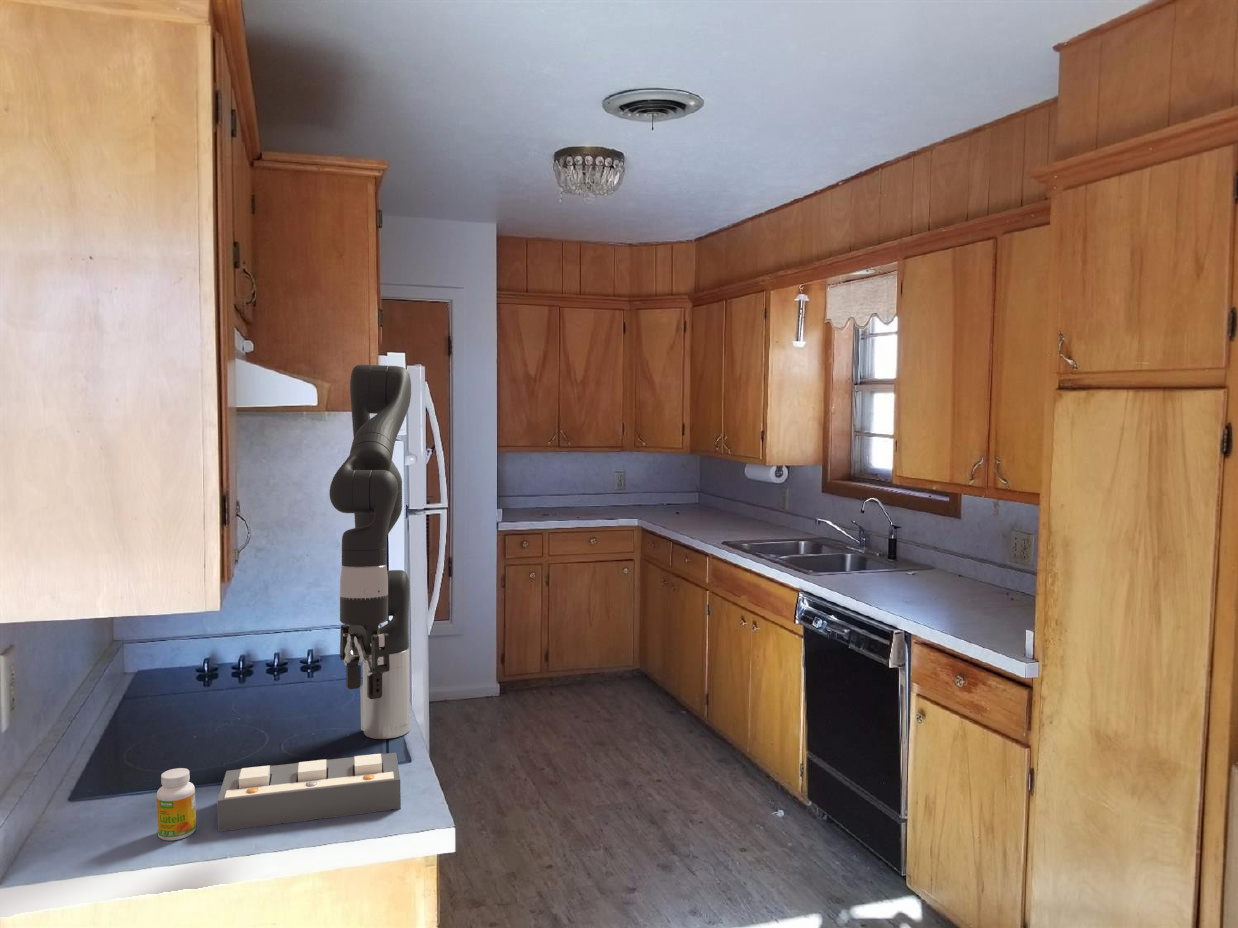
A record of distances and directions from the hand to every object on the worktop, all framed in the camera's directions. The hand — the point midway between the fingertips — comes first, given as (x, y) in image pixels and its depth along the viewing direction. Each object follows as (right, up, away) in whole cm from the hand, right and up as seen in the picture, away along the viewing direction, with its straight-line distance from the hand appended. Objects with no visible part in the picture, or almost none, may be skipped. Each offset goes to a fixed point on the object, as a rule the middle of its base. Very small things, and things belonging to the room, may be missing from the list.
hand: (363, 693), depth 147 cm
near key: (-19, -16, +3) cm, 25 cm away
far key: (-1, -16, +8) cm, 18 cm away
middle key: (-10, -16, +5) cm, 20 cm away
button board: (-10, -20, +6) cm, 23 cm away
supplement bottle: (-28, -21, -5) cm, 35 cm away
